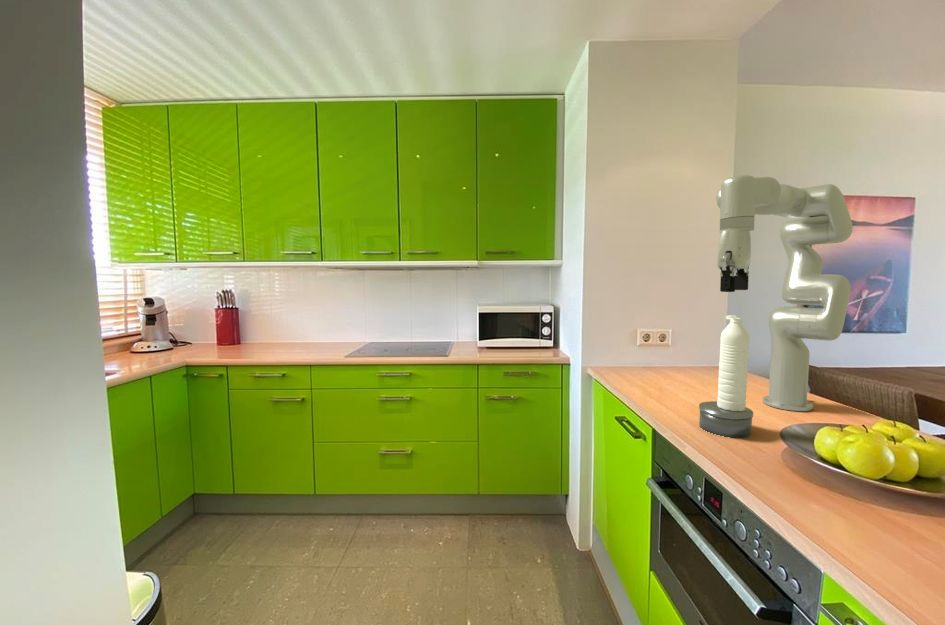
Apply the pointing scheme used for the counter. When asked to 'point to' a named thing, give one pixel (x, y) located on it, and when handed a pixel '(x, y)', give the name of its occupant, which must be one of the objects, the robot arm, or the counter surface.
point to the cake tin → (725, 420)
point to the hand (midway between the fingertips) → (734, 290)
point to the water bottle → (733, 366)
